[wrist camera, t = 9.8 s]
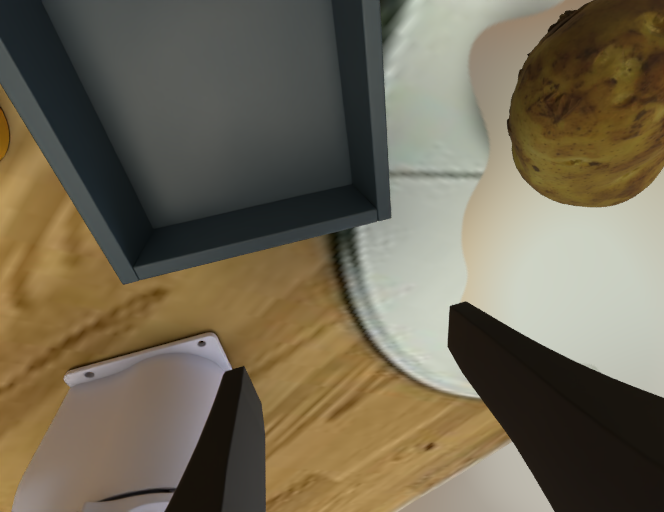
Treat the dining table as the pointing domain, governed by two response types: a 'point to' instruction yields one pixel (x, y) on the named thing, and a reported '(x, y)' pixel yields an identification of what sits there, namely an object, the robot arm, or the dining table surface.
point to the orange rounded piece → (3, 135)
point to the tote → (203, 120)
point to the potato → (593, 105)
